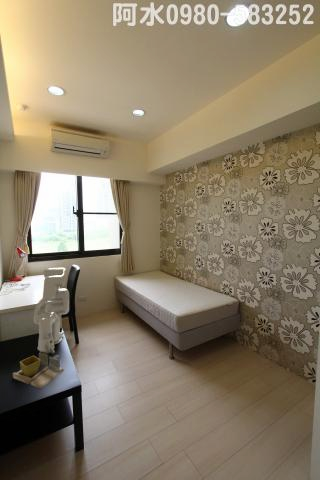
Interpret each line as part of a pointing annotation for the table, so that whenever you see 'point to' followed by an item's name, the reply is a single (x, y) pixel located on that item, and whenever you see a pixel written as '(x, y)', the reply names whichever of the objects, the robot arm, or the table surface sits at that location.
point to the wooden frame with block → (43, 361)
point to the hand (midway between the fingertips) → (46, 360)
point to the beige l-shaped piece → (49, 372)
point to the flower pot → (30, 366)
